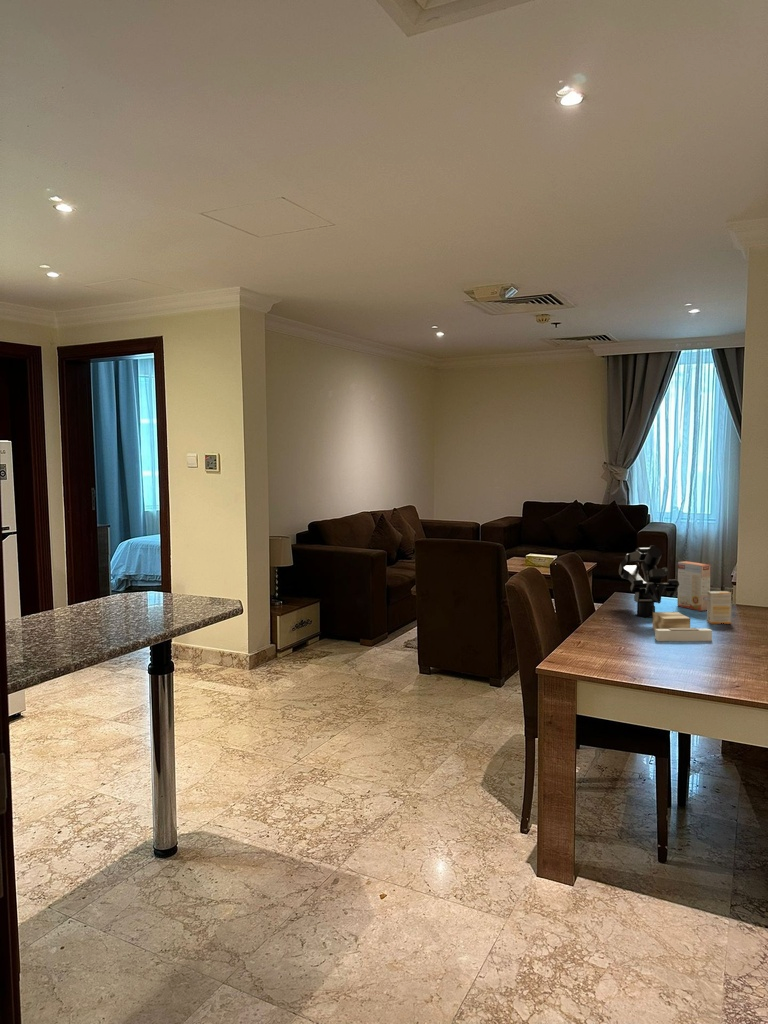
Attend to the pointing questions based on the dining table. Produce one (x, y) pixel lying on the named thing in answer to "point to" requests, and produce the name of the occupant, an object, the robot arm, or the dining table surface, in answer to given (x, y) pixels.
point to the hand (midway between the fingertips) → (659, 602)
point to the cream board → (683, 634)
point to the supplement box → (719, 607)
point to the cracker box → (693, 585)
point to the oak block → (670, 620)
